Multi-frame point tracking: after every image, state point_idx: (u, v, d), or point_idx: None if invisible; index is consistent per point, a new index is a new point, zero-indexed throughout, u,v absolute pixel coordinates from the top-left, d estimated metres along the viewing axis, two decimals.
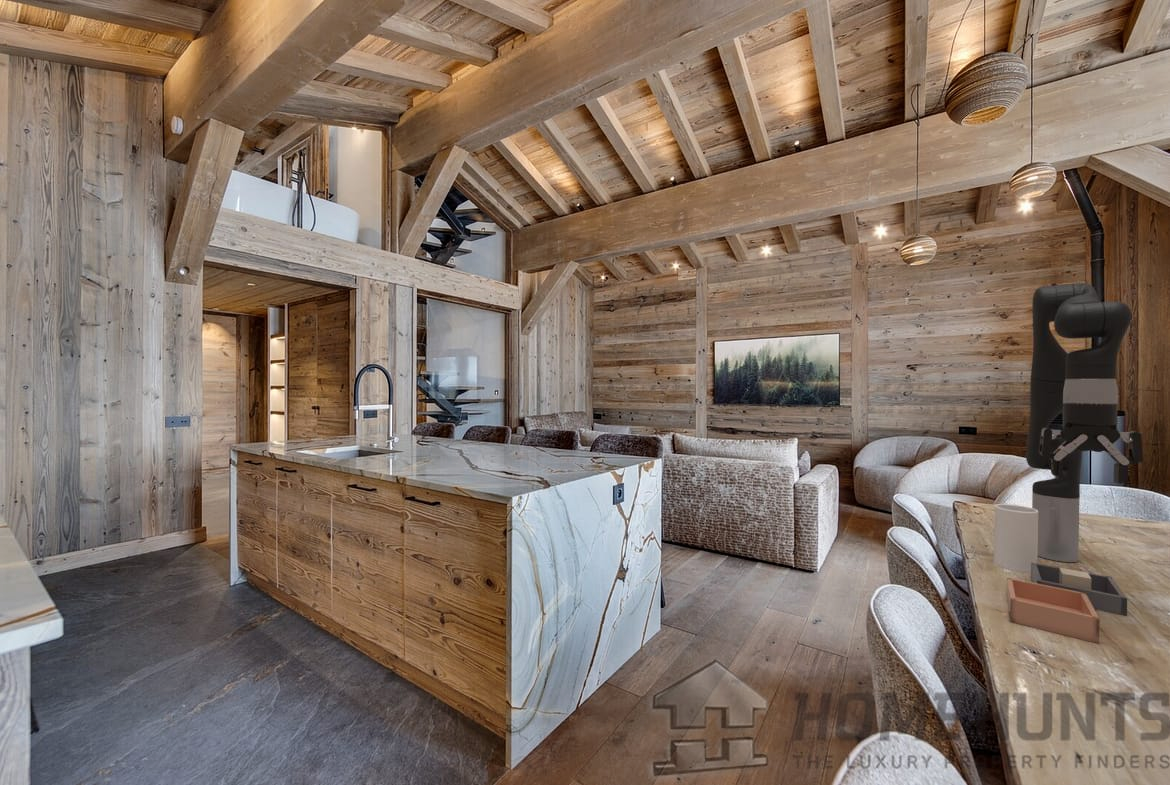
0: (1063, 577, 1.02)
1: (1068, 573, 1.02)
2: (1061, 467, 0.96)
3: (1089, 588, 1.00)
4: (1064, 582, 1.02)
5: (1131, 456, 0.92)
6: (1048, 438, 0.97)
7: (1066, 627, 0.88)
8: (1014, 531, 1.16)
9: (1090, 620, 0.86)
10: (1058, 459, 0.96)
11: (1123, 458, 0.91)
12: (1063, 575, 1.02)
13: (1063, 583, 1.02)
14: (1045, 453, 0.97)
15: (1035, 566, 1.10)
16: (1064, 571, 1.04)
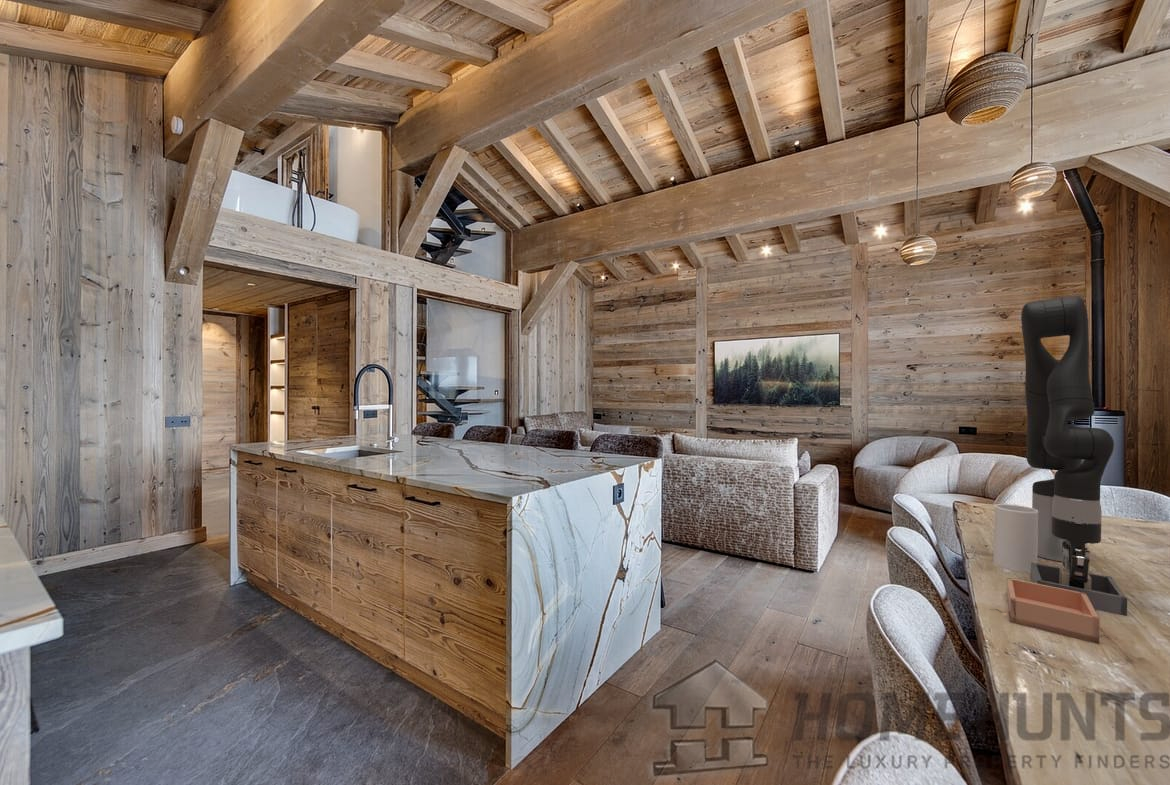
0: (1063, 577, 1.02)
1: (1068, 573, 1.02)
2: None
3: (1089, 588, 1.00)
4: (1064, 582, 1.02)
5: None
6: None
7: (1066, 627, 0.88)
8: (1014, 531, 1.16)
9: (1090, 620, 0.86)
10: None
11: None
12: (1063, 575, 1.02)
13: (1063, 583, 1.02)
14: (1087, 579, 0.98)
15: (1035, 566, 1.10)
16: (1064, 571, 1.04)
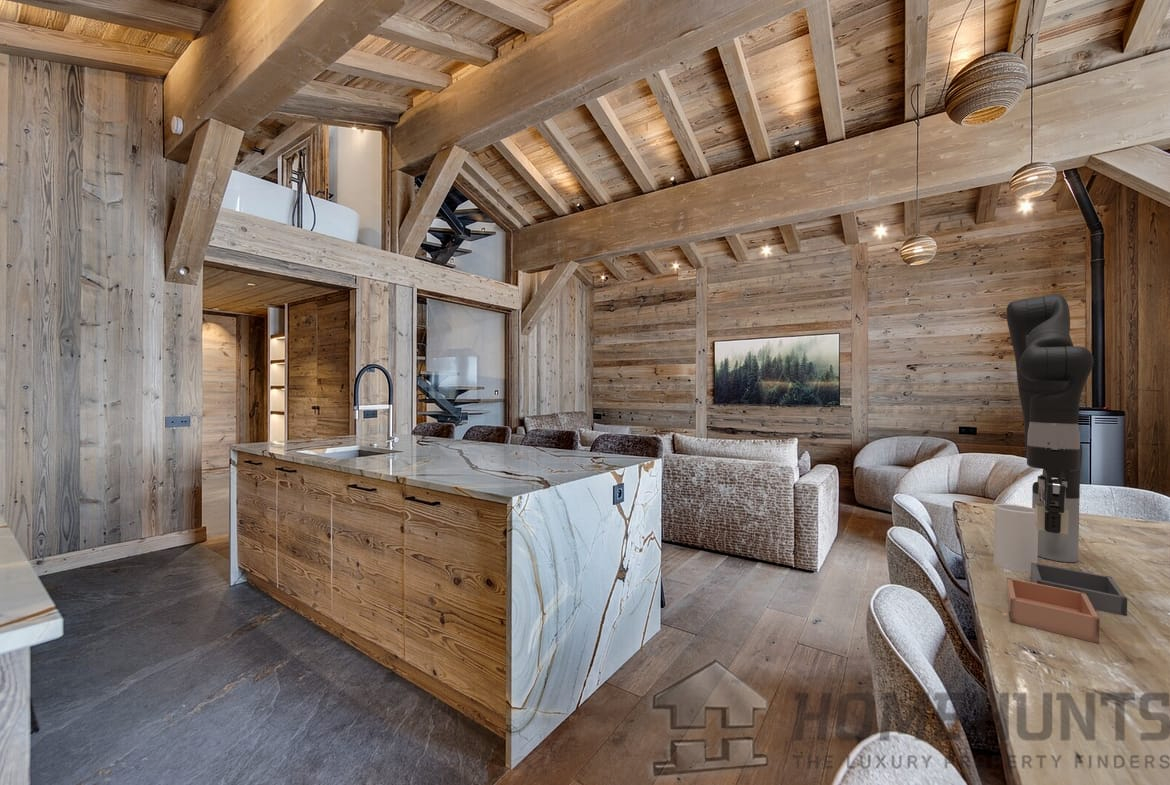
0: (1038, 510, 0.94)
1: None
2: None
3: (1066, 520, 0.91)
4: (1039, 515, 0.94)
5: None
6: None
7: (1066, 627, 0.88)
8: (1014, 531, 1.16)
9: (1090, 620, 0.86)
10: None
11: None
12: (1038, 508, 0.94)
13: (1038, 516, 0.94)
14: (1064, 509, 0.90)
15: (1035, 566, 1.10)
16: (1040, 504, 0.95)
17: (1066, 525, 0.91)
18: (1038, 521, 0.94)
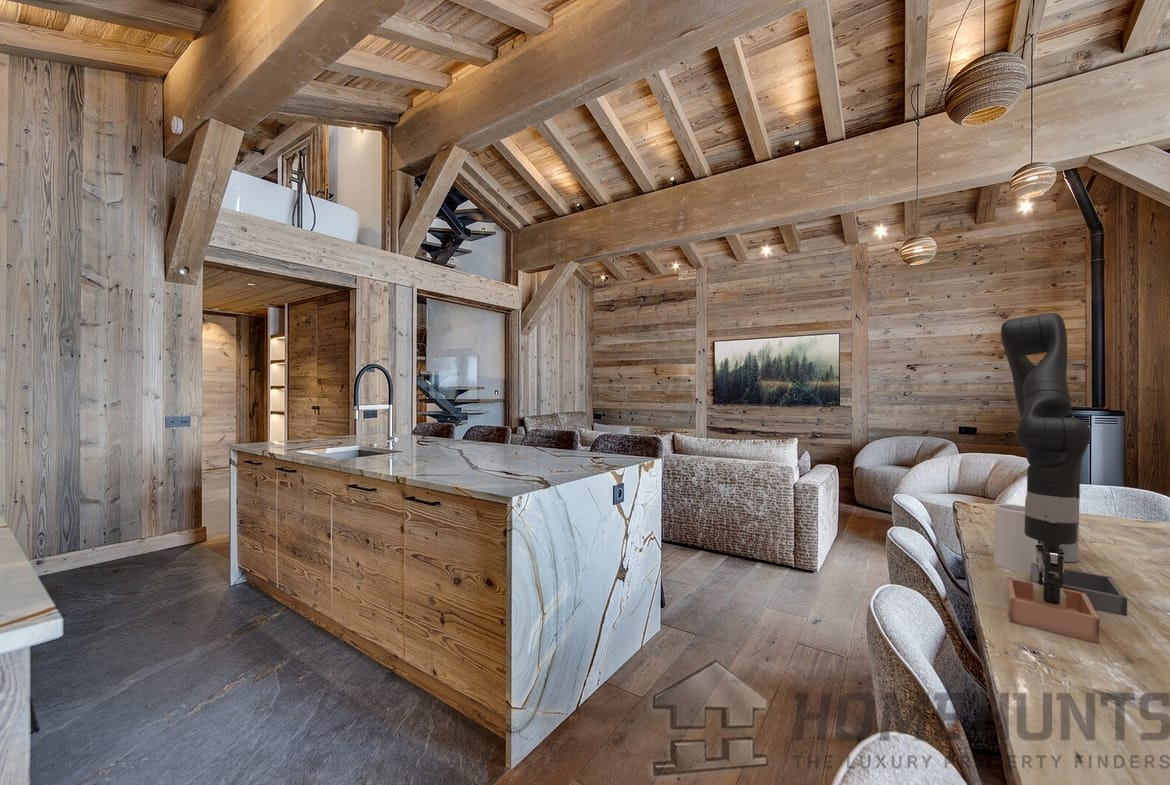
0: (1036, 594, 0.94)
1: (1041, 590, 0.94)
2: None
3: (1063, 607, 0.91)
4: (1037, 600, 0.94)
5: None
6: None
7: (1066, 627, 0.88)
8: (1014, 531, 1.16)
9: (1090, 620, 0.86)
10: None
11: None
12: (1036, 592, 0.94)
13: (1036, 601, 0.94)
14: (1063, 582, 0.88)
15: (1035, 566, 1.10)
16: (1037, 587, 0.95)
17: None
18: None
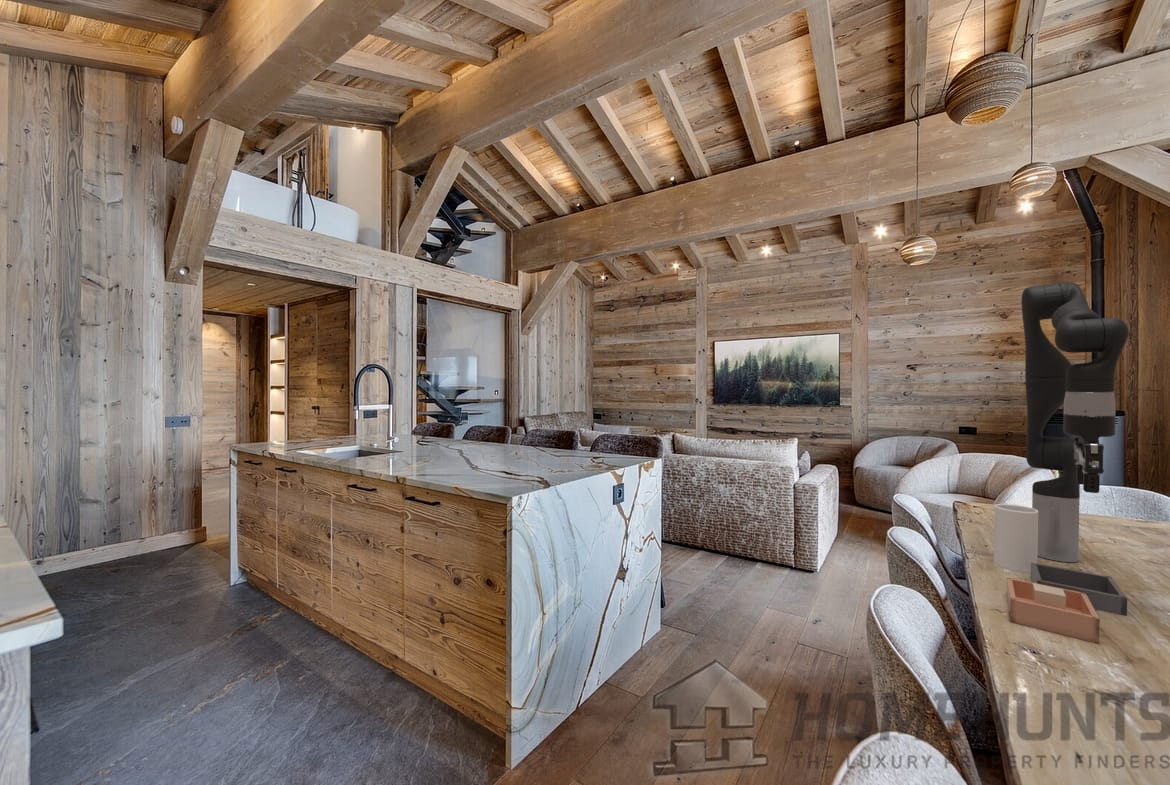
0: (1036, 594, 0.94)
1: (1041, 590, 0.94)
2: None
3: (1063, 607, 0.91)
4: (1037, 600, 0.94)
5: None
6: None
7: (1066, 627, 0.88)
8: (1014, 531, 1.16)
9: (1090, 620, 0.86)
10: (1100, 473, 0.95)
11: None
12: (1036, 592, 0.94)
13: (1036, 601, 0.94)
14: (1103, 470, 0.94)
15: (1035, 566, 1.10)
16: (1037, 587, 0.95)
17: None
18: None
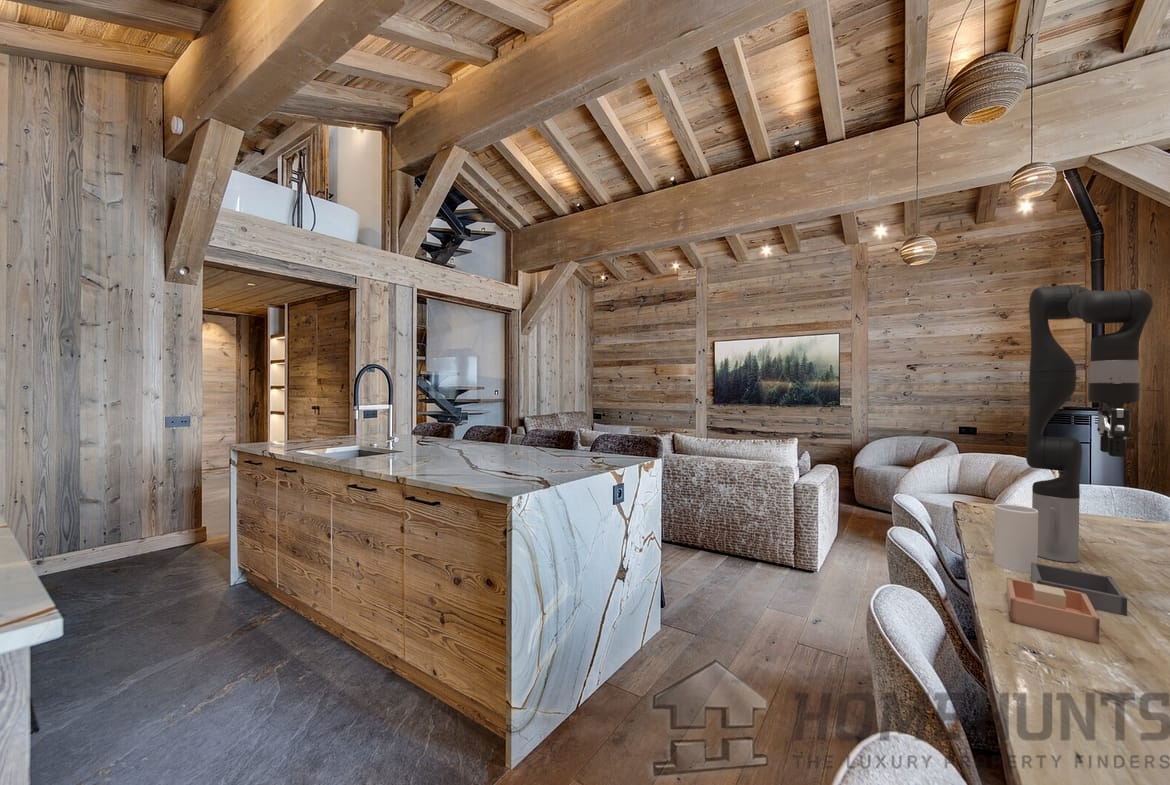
0: (1036, 594, 0.94)
1: (1041, 590, 0.94)
2: None
3: (1063, 607, 0.91)
4: (1037, 600, 0.94)
5: None
6: None
7: (1066, 627, 0.88)
8: (1014, 531, 1.16)
9: (1090, 620, 0.86)
10: (1125, 437, 0.99)
11: None
12: (1036, 592, 0.94)
13: (1036, 601, 0.94)
14: (1128, 433, 0.97)
15: (1035, 566, 1.10)
16: (1037, 587, 0.95)
17: None
18: None
